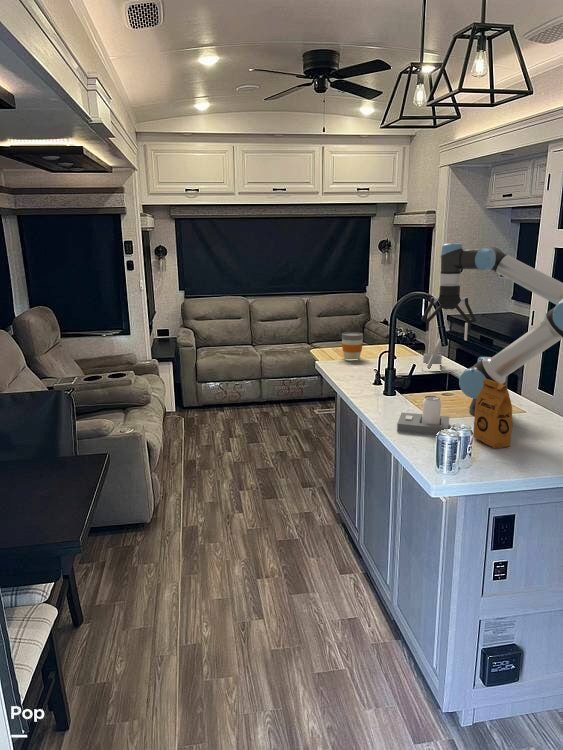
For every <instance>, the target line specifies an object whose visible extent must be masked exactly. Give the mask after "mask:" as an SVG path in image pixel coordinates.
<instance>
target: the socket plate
mask: <svg viewBox="0 0 563 750" xmlns="http://www.w3.org/2000/svg"><path fill="white" fill-rule="evenodd" d="M397 421H398V422H397V423H396V432H399V431H400V432H399V433H409V432H410V433H411V434H420V435H421V434H422V435H429V436H430V435H431V436H437V435H436V434H437V433H438V432H439V431H441V430H444V429H448V430H449V425H450V416H446V415H440V425H436V424H425V423H422V413H411V412H401V413H400V415H399V418H398V420H397ZM410 433H409V434H410Z"/></svg>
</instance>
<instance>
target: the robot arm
mask: <svg viewBox="0 0 563 750" xmlns="http://www.w3.org/2000/svg"><path fill="white" fill-rule="evenodd" d="M440 253H441V254H440V273H439V274H440V275H439V284H440V286H439V294H438V295H439V297H433V296H432V297H430V302H429V305H428V306H427V307H426V309H425V311H424V314H423V315H422V317H421V322H425V331H426V332H428V335H427V337H428V338H427V339H428V341H431V338H432V337H431V332H432V330H431V329H432V322H431V321H432V320H433V319H434V318H435V316H437V314H439V312H440V311H442V309H444V310H455V309H456V311H457V312H458V313H459V314H460V315H461V317H462V318H463V319H464V320H465V323H464V336H463V337H464V341H468V333H470V332H471V326H472V324H473V323H475V322H477V319H476V316H475V315H474V312H473V310H472V309H471V306H470V305H469V298H468V297H467V296H465V297H462V298H461V296H460V295H461V286H460V284H461V279H462V270H478V271H479V270H480V271H486V270H490V271H492V272H494V273H496V274H498V275H500V276H502V277H504V278H506V279H507V280H509V281H511V282H513V283H515V284H517V285H519V286H520V287H522V288H524V289H526V290H527V291H530V292H532V293H534V294H536V295H537V296H539V297H541V298H543V299H545V300H547V301H548V302H551V303H552V304H554V305H555V306H554V307H553V308H552V309H550V310H548V312H545V317H544V320H542V321H541V322H540V323H538V324H537V325H535V326H534V327H533V328H531V329H530V330H529V331H527V332H526V333H524V334H523V335H521V336H519V338H517V339H516V340H514V341H513V342H512V343H510V344H509V345H507V346H506V347H505V348H503V349H502V350H500V351H499V352H498V353H496V354H495V355H493V356H492V357H491V356H479V357H478V358H477V361H476V363H475V364H473V366H470V367H469V368H466V369H464V370H463V371H462V372H461V374H460V375H459V379H458V381H459V382H458V385H459V388H460V390H461V392H462V393H463V394H464V395H465V396H466V397H468V398H470V399H472V400H471V402H470V405H469V409H468V412H469V414H471V415H473V416H474V417H475V404H476V399H477V397H478V395H479V393H480V391H481V389H482V387H483V385H484V383H483V380H484V379H485V378H486V379H489V380H492V381H495V382H499V383H500V384H503V385H505V386H507V387H508V378H509V375H510V374H512V373H513V372H515V371H516V370H518V369H520V368H521V367H522V366H524V365H525V364H527V363H528V362H530V361H531V360H533V359H534V358H535V357H537V356H539V355H540V354H542V353H543V352H545V351H546V350H547V349H549V348H551V347H552V346H553V345H555V344H557V343H558V342H559V341H561V340H563V282H561V281H560V280H558V279H556V278H554V277H552V276H550V275H548V274H546V273H544V272H542V271H540V270H538V269H536V268H534V267H532V266H530V265H528V264H526V263H524V262H522V261H520V260H518V259H516V258H515V257H513V256H510V255H509V254H507V253H505V252H504V251H503V250H502V249H501V248H499V247H495V246H492V247H491V246H490V247H484V248H483V247H480V248H464V247H463V244H462V243H461V242H459V243H454V242H453V243H443V245H442V246H441V252H440ZM437 302H438V304H439V306H437V307H436V309H434V311H433V312H432V313H431V314H430V315H429V313H430V311H431V309H432V308H433V306H434V304H436V303H437ZM461 302H462V304H464V306H465V307H466V310H467V312H468V313H469V316H470V318H469V317H468V316H467V314H466V313H465V312H464V310H463V309H461V307H460V306H459V304H460V303H461ZM428 315H429V316H428ZM427 316H428V317H427Z"/></svg>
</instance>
